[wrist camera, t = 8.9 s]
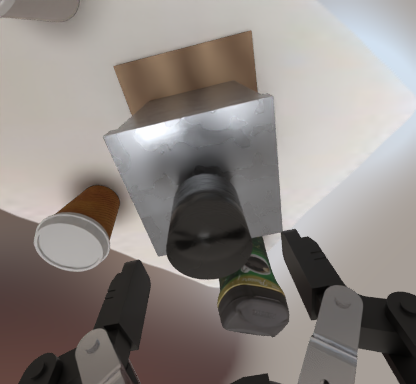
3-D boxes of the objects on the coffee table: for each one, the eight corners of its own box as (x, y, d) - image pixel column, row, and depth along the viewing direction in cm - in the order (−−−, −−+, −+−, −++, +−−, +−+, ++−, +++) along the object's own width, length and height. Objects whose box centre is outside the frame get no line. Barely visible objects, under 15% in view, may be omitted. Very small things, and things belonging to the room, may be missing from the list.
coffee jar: (206, 243, 47) (211, 339, 31) (221, 213, 43) (236, 304, 27) (248, 254, 49) (274, 349, 33) (265, 226, 45) (304, 318, 29)
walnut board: (166, 201, 41) (165, 204, 40) (115, 66, 30) (113, 66, 29) (265, 180, 40) (266, 183, 39) (249, 31, 29) (251, 30, 28)
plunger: (179, 177, 33) (162, 305, 16) (161, 118, 28) (109, 206, 11) (237, 164, 32) (285, 283, 15) (227, 102, 28) (277, 170, 11)
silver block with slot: (178, 192, 39) (167, 275, 24) (147, 99, 32) (102, 136, 17) (249, 177, 38) (284, 253, 23) (235, 78, 31) (273, 96, 16)
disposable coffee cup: (121, 174, 38) (93, 217, 28) (134, 219, 43) (115, 270, 33) (64, 178, 38) (15, 223, 28) (83, 224, 43) (48, 276, 33)
